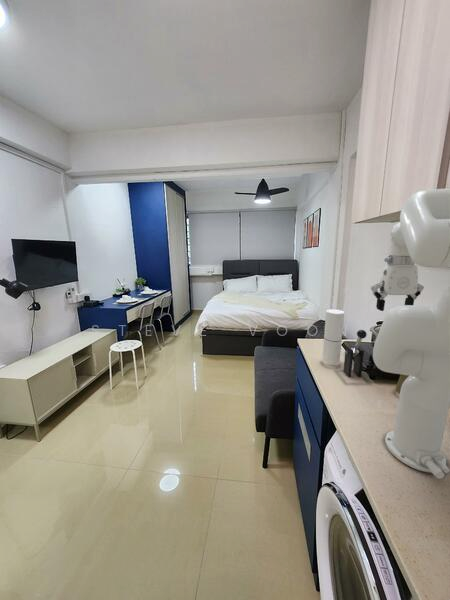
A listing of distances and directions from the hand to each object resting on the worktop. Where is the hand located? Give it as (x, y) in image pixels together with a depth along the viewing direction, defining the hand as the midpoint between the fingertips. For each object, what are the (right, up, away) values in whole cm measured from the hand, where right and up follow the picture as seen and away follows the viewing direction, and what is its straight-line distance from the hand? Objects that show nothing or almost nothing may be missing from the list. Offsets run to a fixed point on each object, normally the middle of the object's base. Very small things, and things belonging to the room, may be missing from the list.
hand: (393, 309), depth 85 cm
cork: (+4, -31, +1) cm, 31 cm away
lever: (-9, -14, +6) cm, 18 cm away
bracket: (-8, -28, +13) cm, 32 cm away
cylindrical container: (-12, -26, +24) cm, 37 cm away
